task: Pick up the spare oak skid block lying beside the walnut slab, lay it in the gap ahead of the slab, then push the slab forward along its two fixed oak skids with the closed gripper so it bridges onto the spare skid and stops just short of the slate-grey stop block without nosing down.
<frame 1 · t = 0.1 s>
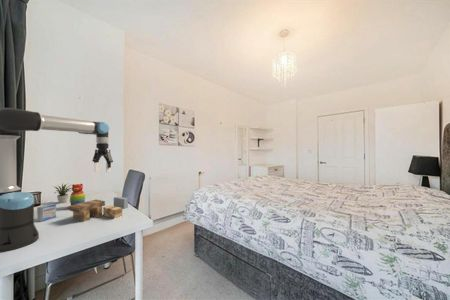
hand: (102, 171, 139), 28 cm above the table, fingers open, 13 cm apart
medicine box: (47, 219, 120), on the table
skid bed: (87, 216, 123), on the table
slab: (87, 207, 123), point 6 cm above the table, touching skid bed
stop block: (120, 206, 145), on the table
house plant: (61, 203, 154), on the table
stacking bear: (77, 207, 144), on the table
spare skid: (112, 216, 125), on the table
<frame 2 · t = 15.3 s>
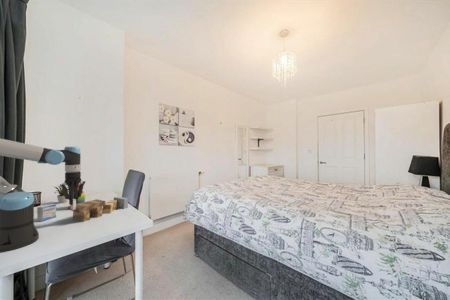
hand: (73, 209, 116), 7 cm above the table, fingers closed
slab: (88, 207, 124), point 6 cm above the table, touching gripper, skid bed
spare skid: (110, 210, 138), on the table
everything else where it was.
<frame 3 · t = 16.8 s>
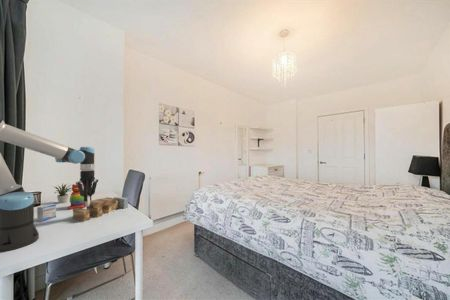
hand: (87, 206, 123), 7 cm above the table, fingers closed
slab: (100, 204, 131), point 6 cm above the table, touching gripper
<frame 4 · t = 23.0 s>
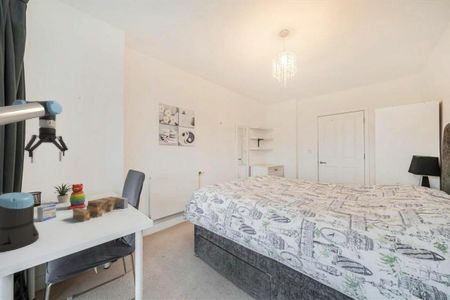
hand: (47, 162, 115), 37 cm above the table, fingers open, 13 cm apart
slab: (104, 203, 133), point 6 cm above the table, touching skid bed
spare skid: (105, 211, 135), on the table
everything else where it was.
at the end: slab inside the target area (1.4 cm from its centre), point 5.8 cm above the table; slab tilted 2°; spare skid inside the target area under the slab (2.8 cm from its centre), point -6.0 cm above the slab's base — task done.
